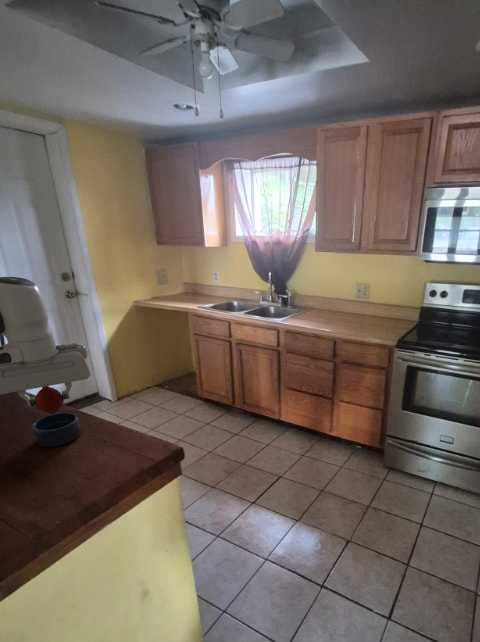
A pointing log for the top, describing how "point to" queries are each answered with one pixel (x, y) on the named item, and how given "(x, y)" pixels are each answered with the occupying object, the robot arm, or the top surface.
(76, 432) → the bowl
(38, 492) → the top surface
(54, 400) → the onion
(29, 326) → the robot arm
